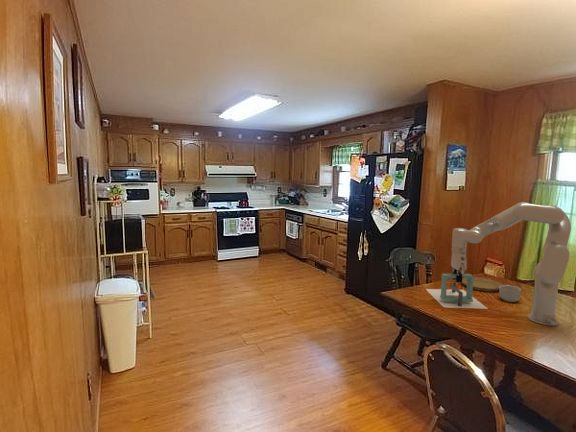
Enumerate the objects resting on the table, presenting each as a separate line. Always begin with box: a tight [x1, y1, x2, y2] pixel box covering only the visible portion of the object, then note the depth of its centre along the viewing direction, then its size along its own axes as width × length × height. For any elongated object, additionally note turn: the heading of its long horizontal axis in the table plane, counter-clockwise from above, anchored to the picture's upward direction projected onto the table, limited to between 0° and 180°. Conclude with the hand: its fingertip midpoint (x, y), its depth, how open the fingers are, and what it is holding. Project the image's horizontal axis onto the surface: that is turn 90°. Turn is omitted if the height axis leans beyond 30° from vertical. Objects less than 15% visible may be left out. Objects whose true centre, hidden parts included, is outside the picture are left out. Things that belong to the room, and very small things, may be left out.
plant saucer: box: [461, 276, 503, 293], centre depth 222 cm, size 24×24×3 cm
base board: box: [425, 288, 489, 310], centre depth 197 cm, size 30×24×2 cm
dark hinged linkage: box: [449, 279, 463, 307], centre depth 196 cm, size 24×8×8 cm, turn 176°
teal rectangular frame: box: [440, 273, 475, 302], centre depth 190 cm, size 6×16×15 cm, turn 86°
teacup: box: [498, 284, 522, 303], centre depth 198 cm, size 14×11×8 cm
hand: (457, 280), depth 189 cm, fingers closed on teal rectangular frame, 4 cm apart
